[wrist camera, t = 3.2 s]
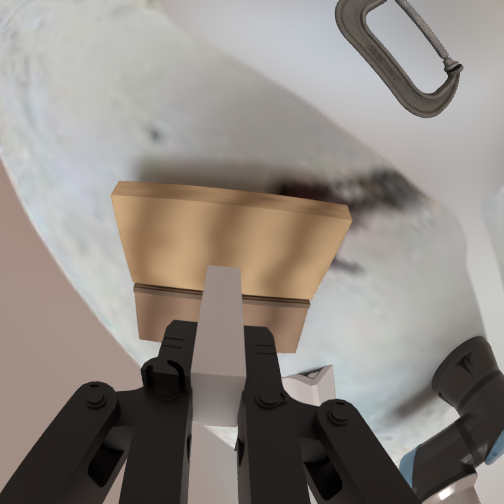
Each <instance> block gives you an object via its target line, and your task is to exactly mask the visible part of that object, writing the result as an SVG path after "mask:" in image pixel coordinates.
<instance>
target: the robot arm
mask: <svg viewBox="0 0 504 504" xmlns="http://www.w3.org/2000/svg"><path fill="white" fill-rule="evenodd" d="M141 375H142V381H143V387H141V388H139V389H136V390H131V391H118V392H115V391H114V389H113V388H112V387H111V386H109V385H108V384H106V383H103V382H98V381H97V382H89V383H86V384H83V385H82V386H81V387H80V388H79V389H78V390H77V391H76V392H75V393H74V394H73V396H72V397H71V398H70V399H69V401H68V402H67V403H66V404H65V406H64V407H63V408H62V410H61V411H60V412H59V413H58V415H57V416H56V417H55V418H54V420H53V421H52V423H51V424H50V425H49V426H48V428H47V429H46V430H45V432H44V433H43V434H42V436H41V437H40V438H39V440H38V441H37V442H36V443H35V445H34V446H33V448H32V449H31V450H30V452H29V453H28V454H27V456H26V457H25V459H24V460H23V461H22V463H21V464H20V466H19V467H18V468H17V470H16V471H15V473H14V474H13V475H12V477H11V478H10V480H9V481H8V483H7V484H6V486H5V487H4V489H3V490H2V492H1V493H0V504H102V503H103V502H104V500H105V498H106V496H107V494H108V492H109V490H110V488H111V487H112V485H113V483H114V481H115V479H116V477H117V476H118V474H119V472H120V470H121V468H122V466H123V464H124V463H125V461H126V459H127V462H126V467H125V472H124V478H123V483H122V488H121V493H120V499H119V504H187V501H188V484H189V467H190V454H191V441H192V434H191V429H192V424H199V425H211V426H226V427H237V424H238V436H237V441H236V446H235V450H234V451H237V473H238V500H239V504H311V503H310V497H309V492H308V486H309V488H310V490H311V492H312V494H313V496H314V497H315V500H316V501H317V503H318V504H481V503H480V501H479V498H478V496H477V494H476V491H475V489H474V484H475V481H476V479H477V477H478V475H477V472H476V470H475V468H476V467H477V466H479V465H480V464H481V463H483V462H484V461H485V464H487V465H490V464H492V463H493V462H494V461H496V460H497V459H498V458H499V457H500V456H501V455H502V454H503V453H504V375H503V374H502V373H501V371H500V370H499V368H498V366H497V363H496V360H495V357H494V354H493V352H492V349H491V346H490V344H489V343H488V342H487V341H486V340H485V339H484V338H483V337H476V338H473V339H470V340H469V341H467V342H465V343H464V344H462V345H461V346H459V347H458V348H457V349H456V350H455V351H454V352H452V353H451V354H450V355H449V356H448V357H447V359H446V360H445V361H444V362H443V363H442V364H441V366H440V367H439V369H438V370H437V372H436V373H435V375H434V378H433V381H432V388H433V389H434V391H435V393H436V394H437V395H438V396H439V397H440V398H441V399H443V400H444V401H445V402H447V403H448V404H450V405H451V406H452V407H454V408H455V409H456V411H457V412H458V414H459V415H460V418H459V419H457V420H456V421H455V422H454V423H455V424H454V423H452V424H451V425H449V426H448V427H446V428H445V429H444V430H442V431H441V432H439V433H438V434H436V435H435V436H433V437H432V438H430V439H429V440H427V441H425V442H424V443H422V444H419V445H418V446H417V447H416V448H415V449H413V450H412V451H410V452H409V453H407V454H406V455H404V456H403V458H402V459H401V462H400V465H399V470H398V468H397V467H396V465H395V464H394V462H393V461H392V459H391V458H390V457H389V455H388V454H387V452H386V451H385V449H384V448H383V446H382V445H381V443H380V442H379V441H378V439H377V438H376V436H375V435H374V433H373V432H372V430H371V429H370V428H369V426H368V425H367V423H366V422H365V420H364V419H363V417H362V416H361V414H360V413H359V412H358V410H357V409H356V408H355V407H354V406H353V405H352V404H351V403H349V402H347V401H345V400H341V399H329V400H327V401H325V402H323V403H322V404H321V405H320V406H315V405H311V404H306V403H303V402H300V401H297V400H295V399H294V398H292V397H291V396H290V395H289V394H288V393H287V392H286V391H285V389H284V387H283V384H282V379H281V373H280V368H279V362H278V357H277V352H276V347H275V341H274V336H273V334H272V333H271V332H270V330H269V329H268V328H267V327H263V326H247V325H243V308H242V288H241V268H234V267H223V266H213V265H208V267H207V273H206V278H205V284H204V290H203V296H202V302H201V308H200V314H199V320H198V322H192V321H183V320H175V319H174V320H173V321H172V322H171V323H170V324H169V325H168V326H167V327H166V330H165V333H164V337H163V340H162V344H161V347H160V351H159V354H158V357H155V358H152V359H150V360H148V361H147V362H145V363H144V365H143V366H142V368H141ZM307 484H308V486H307Z"/></svg>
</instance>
